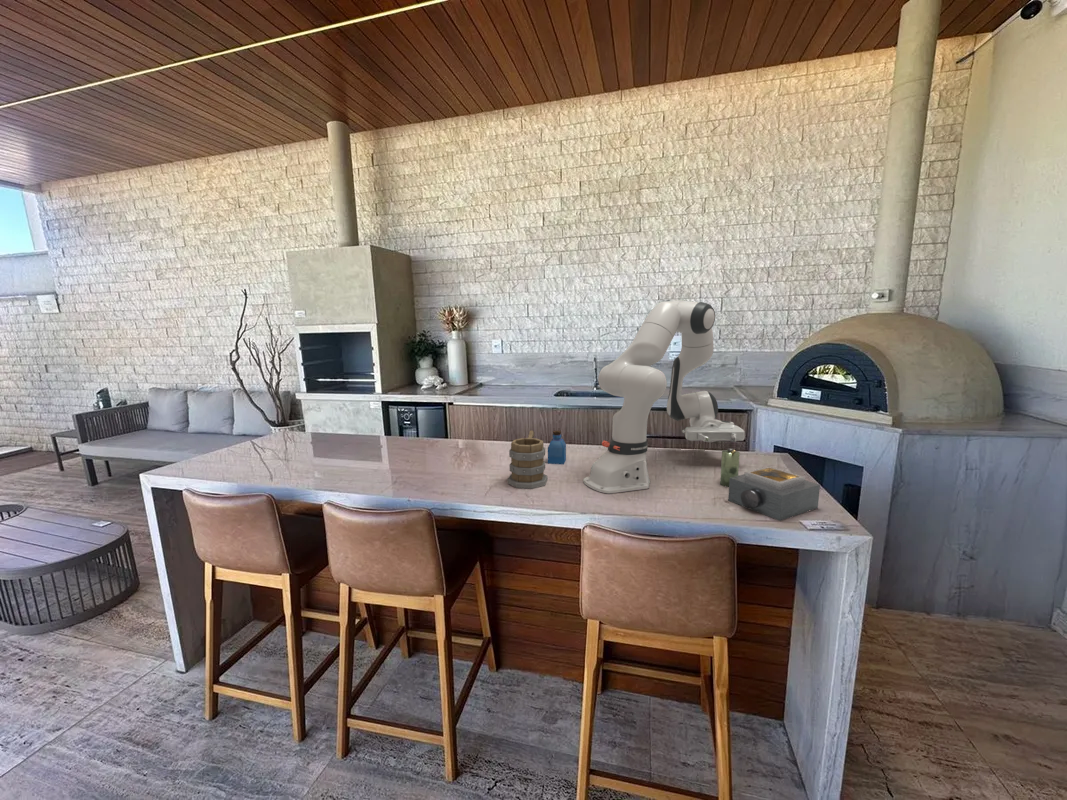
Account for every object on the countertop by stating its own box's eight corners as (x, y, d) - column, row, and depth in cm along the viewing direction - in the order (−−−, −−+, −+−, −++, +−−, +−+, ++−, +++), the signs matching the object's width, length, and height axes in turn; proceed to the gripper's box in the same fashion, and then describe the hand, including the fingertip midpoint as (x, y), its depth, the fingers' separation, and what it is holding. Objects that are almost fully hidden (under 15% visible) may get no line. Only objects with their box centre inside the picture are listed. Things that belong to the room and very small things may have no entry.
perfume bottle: (563, 464, 166) (563, 433, 164) (547, 463, 167) (547, 432, 165) (565, 459, 172) (566, 429, 170) (550, 459, 173) (550, 429, 171)
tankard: (543, 489, 140) (543, 444, 137) (504, 487, 142) (504, 442, 140) (551, 470, 159) (551, 429, 157) (517, 468, 161) (517, 428, 159)
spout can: (718, 481, 146) (720, 445, 144) (734, 482, 145) (736, 445, 143) (723, 488, 140) (726, 450, 138) (740, 488, 139) (743, 450, 137)
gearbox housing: (775, 522, 115) (777, 489, 114) (723, 501, 129) (725, 472, 127) (817, 508, 124) (820, 477, 122) (765, 490, 138) (767, 462, 136)
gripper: (681, 421, 167) (689, 430, 154) (737, 421, 165) (750, 430, 152) (680, 438, 168) (689, 448, 155) (736, 438, 166) (749, 448, 153)
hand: (720, 439), depth 153 cm, fingers open, 8 cm apart
